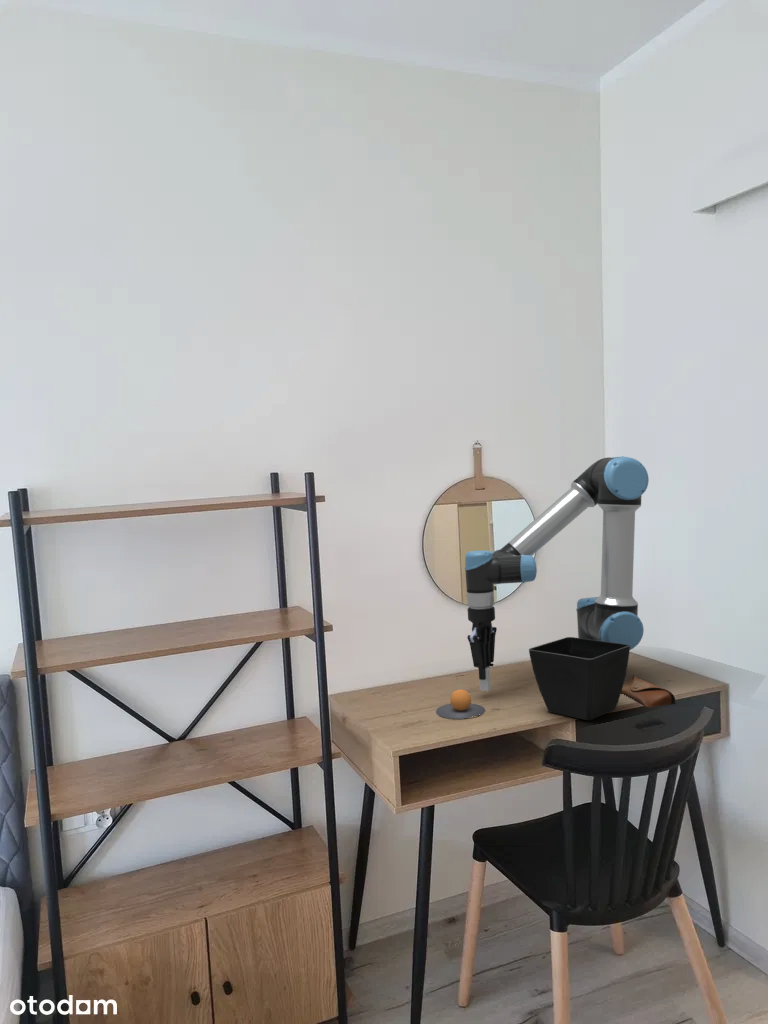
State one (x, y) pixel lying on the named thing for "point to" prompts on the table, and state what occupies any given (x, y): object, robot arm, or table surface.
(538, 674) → the flower pot
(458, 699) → the ball
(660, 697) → the sunglasses case
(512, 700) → the table surface
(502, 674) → the table surface
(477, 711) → the disc
